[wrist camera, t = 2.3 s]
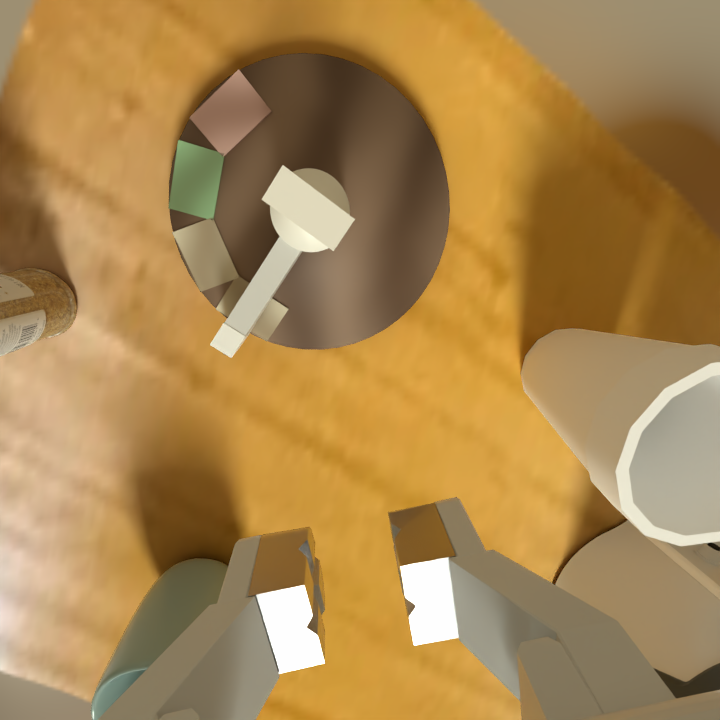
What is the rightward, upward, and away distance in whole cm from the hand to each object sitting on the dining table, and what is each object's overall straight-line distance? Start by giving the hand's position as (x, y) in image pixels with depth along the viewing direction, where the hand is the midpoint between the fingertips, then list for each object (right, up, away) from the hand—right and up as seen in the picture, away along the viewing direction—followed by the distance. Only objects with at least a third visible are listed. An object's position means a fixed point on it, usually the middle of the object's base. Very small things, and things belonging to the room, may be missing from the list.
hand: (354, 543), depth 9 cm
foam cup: (+15, +3, +23) cm, 27 cm away
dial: (-3, +13, +18) cm, 22 cm away
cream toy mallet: (-5, +10, +17) cm, 20 cm away
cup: (-13, -14, +26) cm, 32 cm away
